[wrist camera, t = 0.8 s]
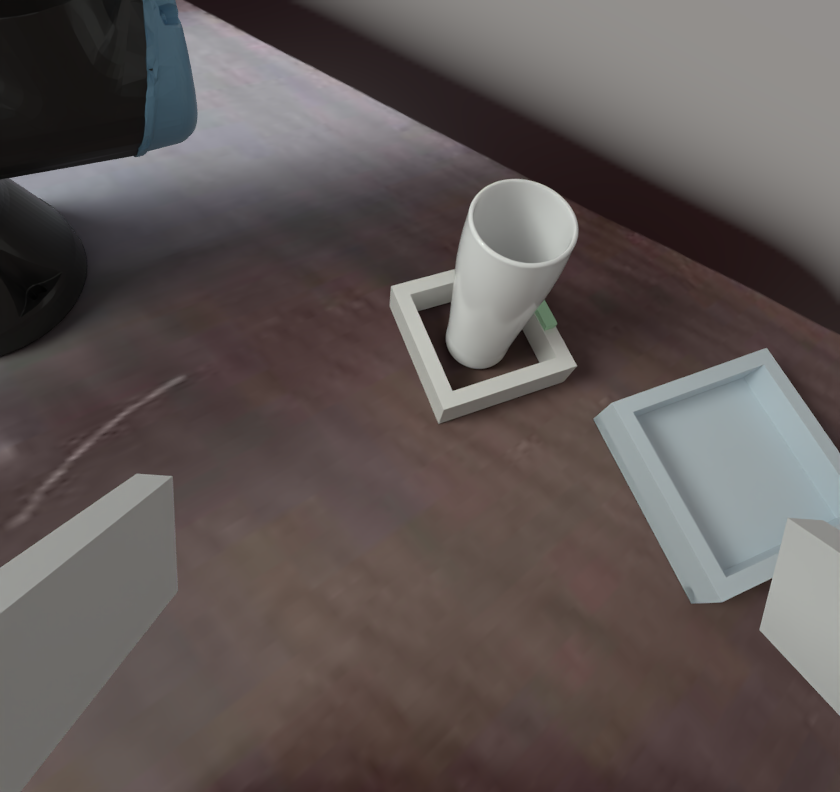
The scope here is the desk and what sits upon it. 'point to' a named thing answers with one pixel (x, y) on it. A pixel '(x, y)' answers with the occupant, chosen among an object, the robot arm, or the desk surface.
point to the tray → (724, 470)
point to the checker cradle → (489, 392)
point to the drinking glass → (506, 266)
